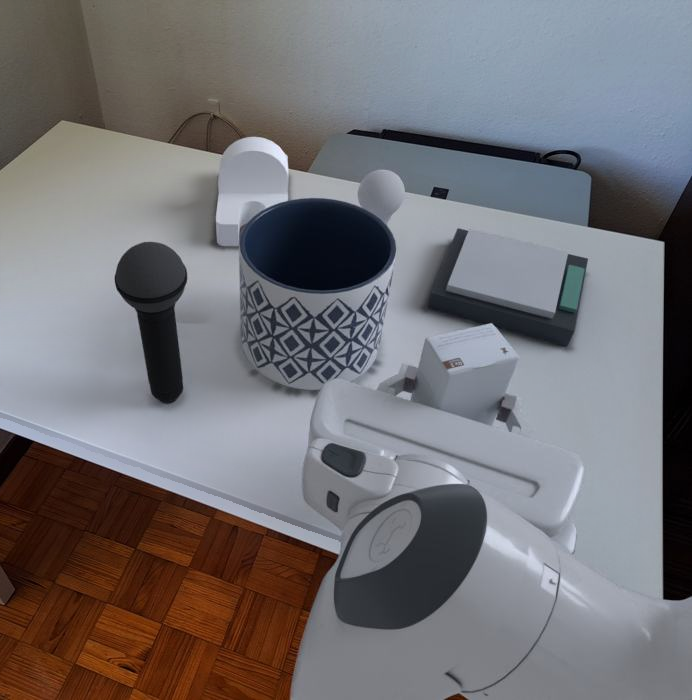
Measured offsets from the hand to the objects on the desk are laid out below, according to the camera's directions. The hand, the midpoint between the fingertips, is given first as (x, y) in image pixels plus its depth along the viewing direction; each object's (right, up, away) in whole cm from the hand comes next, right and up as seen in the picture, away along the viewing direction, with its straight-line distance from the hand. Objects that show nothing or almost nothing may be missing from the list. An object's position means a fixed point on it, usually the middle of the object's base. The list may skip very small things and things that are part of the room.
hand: (459, 384), depth 57 cm
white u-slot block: (-16, +23, +41) cm, 50 cm away
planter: (-10, +4, +22) cm, 25 cm away
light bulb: (+1, +18, +36) cm, 40 cm away
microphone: (-26, -2, +17) cm, 31 cm away
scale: (+15, +10, +27) cm, 33 cm away
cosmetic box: (0, -5, +4) cm, 7 cm away
